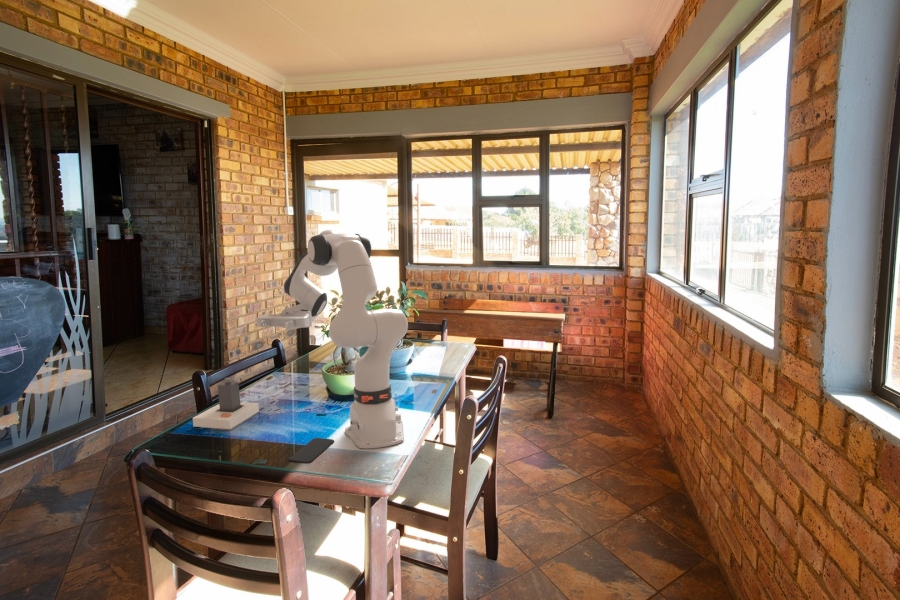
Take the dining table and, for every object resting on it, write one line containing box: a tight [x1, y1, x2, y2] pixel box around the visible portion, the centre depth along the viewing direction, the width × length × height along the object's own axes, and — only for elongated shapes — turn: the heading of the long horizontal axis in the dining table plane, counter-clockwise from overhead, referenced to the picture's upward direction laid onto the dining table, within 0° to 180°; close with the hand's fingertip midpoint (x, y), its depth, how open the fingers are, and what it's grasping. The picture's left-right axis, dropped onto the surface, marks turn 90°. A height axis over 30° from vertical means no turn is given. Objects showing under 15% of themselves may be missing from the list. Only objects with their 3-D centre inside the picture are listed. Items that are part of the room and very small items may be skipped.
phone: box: [288, 437, 335, 464], centre depth 148 cm, size 7×1×15 cm
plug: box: [217, 377, 241, 413], centre depth 174 cm, size 4×5×14 cm
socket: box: [192, 401, 260, 432], centre depth 173 cm, size 16×14×4 cm
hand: (272, 325), depth 185 cm, fingers open, 8 cm apart
